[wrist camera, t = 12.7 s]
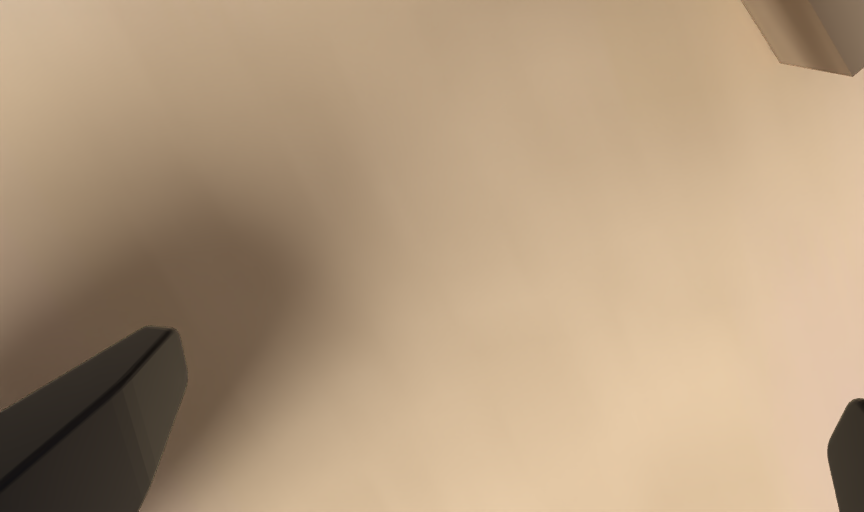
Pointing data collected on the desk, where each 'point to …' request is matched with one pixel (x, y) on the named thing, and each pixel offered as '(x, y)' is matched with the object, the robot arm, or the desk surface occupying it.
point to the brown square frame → (813, 32)
